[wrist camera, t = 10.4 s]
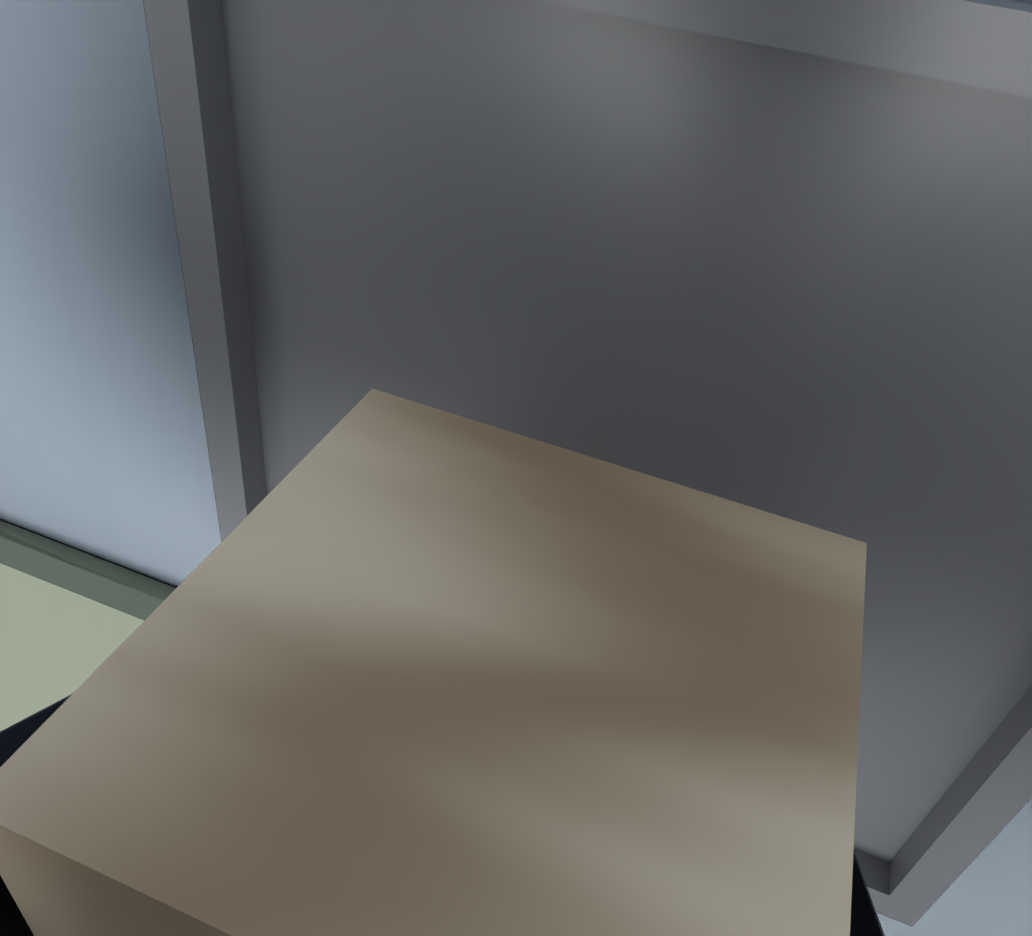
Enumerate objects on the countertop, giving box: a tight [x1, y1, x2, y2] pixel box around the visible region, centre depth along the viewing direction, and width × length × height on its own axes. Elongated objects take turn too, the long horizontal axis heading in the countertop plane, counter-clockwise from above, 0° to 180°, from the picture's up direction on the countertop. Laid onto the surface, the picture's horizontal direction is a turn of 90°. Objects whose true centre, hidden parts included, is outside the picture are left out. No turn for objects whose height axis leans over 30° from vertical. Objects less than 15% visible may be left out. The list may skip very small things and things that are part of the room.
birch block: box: [0, 389, 867, 936], centre depth 8 cm, size 5×5×5 cm
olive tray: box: [0, 520, 176, 731], centre depth 23 cm, size 13×13×1 cm
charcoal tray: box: [143, 0, 1032, 926], centre depth 12 cm, size 13×13×1 cm
